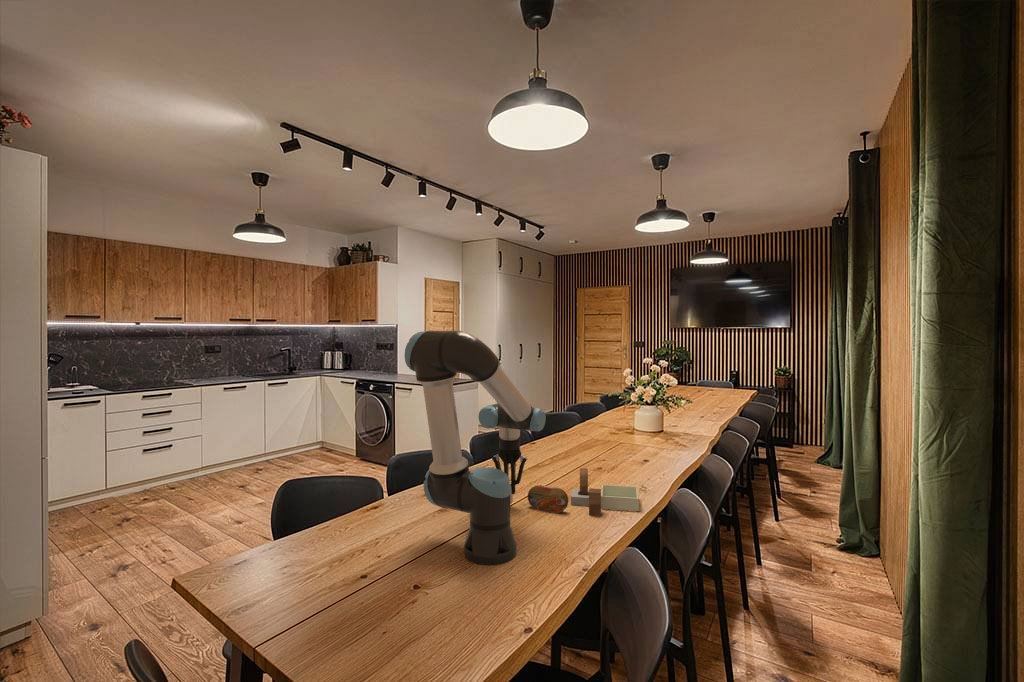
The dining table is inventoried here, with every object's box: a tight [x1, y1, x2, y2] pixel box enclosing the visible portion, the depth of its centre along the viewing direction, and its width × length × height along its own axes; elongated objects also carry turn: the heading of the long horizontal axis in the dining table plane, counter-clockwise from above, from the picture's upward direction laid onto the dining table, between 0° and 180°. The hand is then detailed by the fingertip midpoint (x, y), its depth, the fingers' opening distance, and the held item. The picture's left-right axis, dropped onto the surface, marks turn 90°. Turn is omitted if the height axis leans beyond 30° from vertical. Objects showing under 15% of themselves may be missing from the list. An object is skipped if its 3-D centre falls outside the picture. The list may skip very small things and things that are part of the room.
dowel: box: [579, 467, 589, 496], centre depth 178 cm, size 3×3×12 cm
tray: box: [600, 484, 640, 512], centre depth 176 cm, size 13×13×5 cm
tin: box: [527, 484, 569, 514], centre depth 170 cm, size 15×3×8 cm, turn 62°
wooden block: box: [588, 487, 602, 517], centre depth 167 cm, size 4×4×8 cm
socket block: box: [570, 488, 589, 507], centre depth 179 cm, size 9×9×3 cm
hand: (509, 502), depth 173 cm, fingers closed
